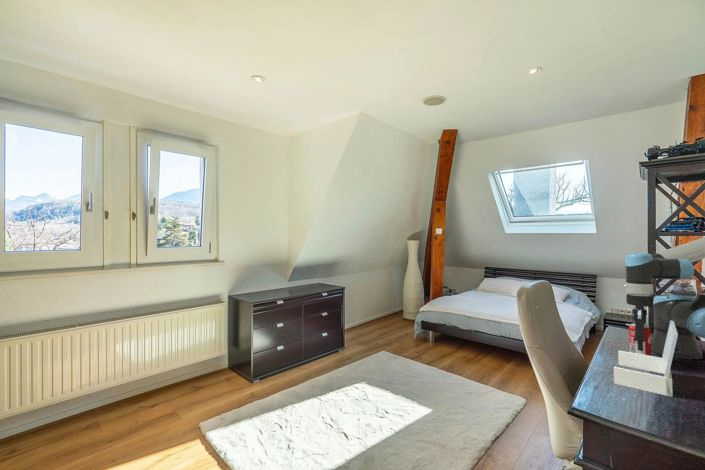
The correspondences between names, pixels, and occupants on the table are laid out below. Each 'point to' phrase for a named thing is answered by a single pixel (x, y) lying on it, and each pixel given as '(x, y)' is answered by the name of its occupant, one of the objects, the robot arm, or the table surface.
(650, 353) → the beverage can
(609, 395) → the table surface
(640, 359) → the white flat pieces
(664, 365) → the lid
